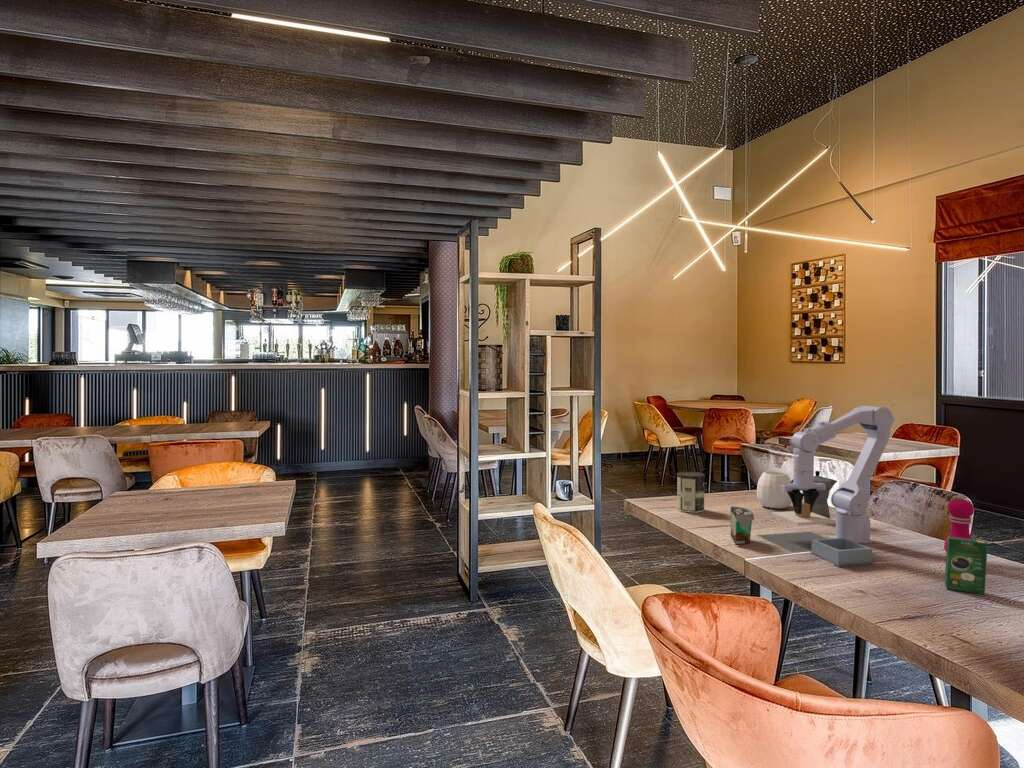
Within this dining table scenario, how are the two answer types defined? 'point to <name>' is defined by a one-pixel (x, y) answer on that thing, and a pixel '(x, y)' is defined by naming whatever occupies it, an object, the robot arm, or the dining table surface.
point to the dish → (842, 552)
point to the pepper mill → (960, 518)
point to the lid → (803, 517)
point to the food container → (741, 525)
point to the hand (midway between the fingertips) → (802, 513)
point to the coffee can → (690, 492)
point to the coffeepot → (822, 495)
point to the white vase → (773, 490)
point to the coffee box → (966, 565)
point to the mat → (793, 540)
